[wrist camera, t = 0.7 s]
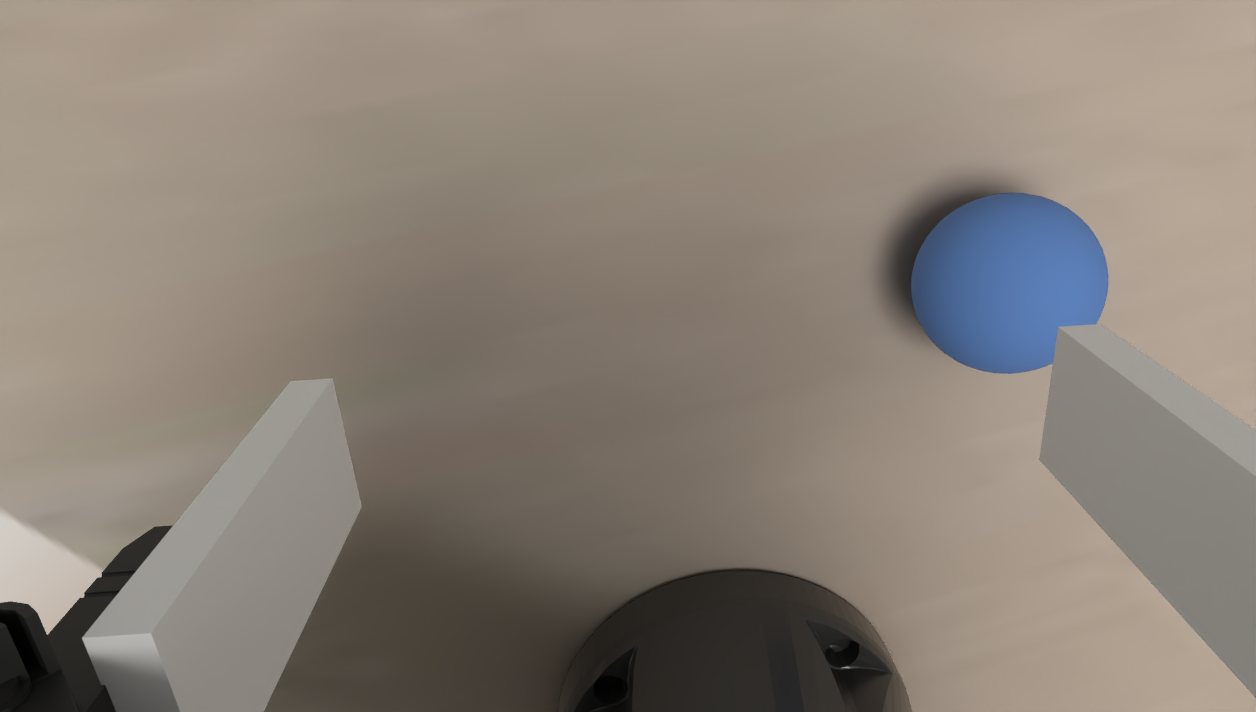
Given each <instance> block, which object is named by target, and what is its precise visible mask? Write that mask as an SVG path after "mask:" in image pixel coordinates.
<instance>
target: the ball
mask: <svg viewBox="0 0 1256 712" xmlns="http://www.w3.org/2000/svg"><path fill="white" fill-rule="evenodd" d="M1107 291H1108V269H1107V263H1106V259H1105V256H1104V253H1103V250H1102V247H1101V245H1100V243H1099V241H1098V239H1097V238H1096V236H1095V235H1094V233H1093V232H1092V230H1091V229H1090V228H1089V226H1088V225H1087V224H1086V223H1085V222H1084V221H1083V220H1082V219H1081V218H1080V217H1078V216H1077V215H1076V214H1075V213H1073V212H1072V211H1071V210H1069V209H1068V208H1066V207H1064V206H1062V205H1061V204H1059V203H1057V202H1054V201H1052V200H1050V199H1047V198H1044V197H1041V196H1036V195H1030V194H1025V193H1004V194H994V195H990V196H985V197H982V198H979V199H976V200H974V201H971V202H969V203H967V204H965V205H963V206H961V207H959V208H957V209H956V210H954V211H953V212H951V213H950V214H948V215H947V216H946V217H945V218H944V219H942V220H941V221H940V222H939V223H938V224H937V225H936V226H935V227H934V228H933V230H932V231H931V232H930V234H929V235H928V236H927V238H926V239H925V241H924V242H923V244H922V246H921V248H920V250H919V252H918V255H917V257H916V260H915V263H914V267H913V272H912V278H911V292H912V301H913V306H914V310H915V313H916V315H917V318H918V320H919V322H920V324H921V326H922V328H923V329H924V331H925V333H926V334H927V336H928V337H929V338H930V339H931V340H932V342H933V343H934V344H935V345H936V346H937V347H938V348H939V349H940V350H942V351H943V352H944V353H945V354H947V355H948V356H950V357H951V358H953V359H954V360H956V361H958V362H960V363H962V364H964V365H966V366H969V367H971V368H975V369H978V370H981V371H986V372H992V373H1008V374H1011V373H1021V372H1027V371H1031V370H1036V369H1039V368H1042V367H1045V366H1047V365H1050V364H1052V363H1053V360H1054V353H1055V346H1056V339H1057V332H1058V327H1064V326H1078V325H1092V324H1096V323H1097V321H1098V319H1099V318H1100V316H1101V313H1102V310H1103V308H1104V305H1105V301H1106V296H1107Z"/></svg>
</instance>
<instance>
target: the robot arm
mask: <svg viewBox="0 0 1256 712" xmlns="http://www.w3.org/2000/svg"><path fill="white" fill-rule="evenodd" d="M1039 460H1040V461H1041V462H1042V463H1043V464H1044V465H1045V467H1046V468H1047V469H1048V470H1049V471H1050V472H1051V473H1052V474H1053V475H1054V476H1055V478H1056V479H1057V480H1058V481H1059V482H1060V483H1061V484H1062V485H1063V486H1064V487H1065V489H1066V490H1067V491H1068V492H1069V493H1070V494H1071V495H1072V496H1073V497H1074V498H1075V500H1076V501H1077V502H1078V503H1079V504H1080V505H1081V506H1082V507H1083V508H1084V509H1085V511H1086V512H1087V513H1088V514H1089V515H1090V516H1091V517H1092V518H1093V519H1094V520H1095V522H1096V523H1097V524H1098V525H1099V526H1100V527H1101V528H1102V529H1103V530H1104V531H1105V533H1106V534H1107V535H1108V536H1109V537H1110V538H1111V539H1112V540H1113V541H1114V542H1115V544H1116V545H1117V546H1118V547H1119V548H1120V549H1121V550H1122V551H1123V552H1124V553H1125V555H1126V556H1127V557H1128V558H1129V559H1130V560H1131V561H1132V562H1133V563H1134V564H1135V566H1136V567H1137V568H1138V569H1139V570H1140V571H1141V572H1142V573H1143V574H1144V575H1145V577H1146V578H1147V579H1148V580H1149V581H1150V582H1151V583H1152V584H1153V585H1154V586H1155V588H1156V589H1157V590H1158V591H1159V592H1160V593H1161V594H1162V595H1163V596H1164V597H1165V599H1166V600H1167V601H1168V602H1169V603H1170V604H1171V605H1172V606H1173V607H1174V608H1175V610H1176V611H1177V612H1178V613H1179V614H1180V615H1181V616H1182V617H1183V618H1184V619H1185V621H1186V622H1187V623H1188V624H1189V625H1190V626H1191V627H1192V628H1193V629H1194V630H1195V632H1196V633H1197V634H1198V635H1199V636H1200V637H1201V638H1202V639H1203V640H1204V641H1205V643H1206V644H1207V645H1208V646H1209V647H1210V648H1211V649H1212V650H1213V651H1214V652H1215V654H1216V655H1217V656H1218V657H1219V658H1220V659H1221V660H1222V661H1223V662H1224V663H1225V665H1226V666H1227V667H1228V668H1229V669H1230V670H1231V671H1232V672H1233V673H1234V674H1235V675H1236V677H1237V678H1238V679H1239V680H1240V681H1241V682H1242V683H1243V684H1244V685H1245V686H1246V688H1247V689H1248V690H1249V691H1250V692H1251V693H1252V694H1253V695H1254V696H1255V697H1256V430H1255V429H1254V428H1252V427H1251V426H1250V425H1248V424H1247V423H1245V422H1244V421H1242V420H1241V419H1239V418H1238V417H1236V416H1235V415H1233V414H1232V413H1231V412H1229V411H1228V410H1226V409H1225V408H1223V407H1222V406H1220V405H1219V404H1217V403H1216V402H1214V401H1213V400H1212V399H1210V398H1209V397H1207V396H1206V395H1204V394H1203V393H1201V392H1200V391H1198V390H1197V389H1195V388H1194V387H1193V386H1191V385H1190V384H1188V383H1187V382H1185V381H1184V380H1182V379H1181V378H1179V377H1178V376H1176V375H1175V374H1174V373H1172V372H1171V371H1169V370H1168V369H1166V368H1165V367H1163V366H1162V365H1160V364H1159V363H1157V362H1156V361H1155V360H1153V359H1152V358H1150V357H1149V356H1147V355H1146V354H1144V353H1143V352H1141V351H1140V350H1138V349H1137V348H1136V347H1134V346H1133V345H1131V344H1130V343H1128V342H1127V341H1125V340H1124V339H1122V338H1121V337H1119V336H1118V335H1117V334H1115V333H1114V332H1112V331H1111V330H1109V329H1108V328H1106V327H1105V326H1103V325H1102V324H1092V325H1078V326H1064V327H1058V332H1057V339H1056V346H1055V353H1054V360H1053V367H1052V374H1051V381H1050V388H1049V395H1048V402H1047V409H1046V416H1045V423H1044V430H1043V437H1042V444H1041V451H1040V458H1039ZM361 508H362V505H361V500H360V496H359V492H358V487H357V483H356V479H355V474H354V470H353V465H352V461H351V457H350V452H349V448H348V444H347V439H346V435H345V430H344V426H343V422H342V417H341V413H340V409H339V404H338V400H337V395H336V391H335V387H334V382H333V378H329V379H315V380H300V381H290V383H289V384H288V385H287V386H286V387H285V389H284V390H283V391H282V392H281V394H280V395H279V396H278V397H277V399H276V400H275V401H274V402H273V403H272V405H271V406H270V407H269V408H268V410H267V411H266V412H265V413H264V415H263V416H262V417H261V418H260V419H259V421H258V422H257V423H256V424H255V426H254V427H253V428H252V429H251V431H250V432H249V433H248V434H247V435H246V437H245V438H244V439H243V440H242V442H241V443H240V444H239V445H238V446H237V448H236V449H235V450H234V451H233V453H232V454H231V455H230V456H229V458H228V459H227V460H226V461H225V462H224V464H223V465H222V466H221V467H220V469H219V470H218V471H217V472H216V474H215V475H214V476H213V477H212V478H211V480H210V481H209V482H208V483H207V485H206V486H205V487H204V488H203V490H202V491H201V492H200V493H199V494H198V496H197V497H196V498H195V499H194V501H193V502H192V503H191V504H190V506H189V507H188V508H187V509H186V510H185V512H184V513H183V514H182V515H181V517H180V518H179V519H178V520H177V522H176V523H175V524H174V525H173V526H160V527H154V528H152V529H151V530H149V531H148V532H146V533H145V534H144V535H142V536H141V537H139V538H138V539H136V540H135V541H133V542H132V543H130V544H129V545H128V546H126V547H125V548H123V549H122V550H121V551H120V552H119V554H118V555H117V556H116V557H115V558H114V559H113V561H112V562H111V563H110V564H109V565H108V566H107V567H106V569H105V570H104V571H103V572H102V577H101V578H97V579H96V580H95V581H94V582H93V584H92V585H91V586H90V587H89V588H88V589H87V590H86V592H85V593H84V594H85V596H84V598H79V600H78V601H77V602H76V603H75V604H74V605H73V607H72V608H71V609H70V610H69V611H68V612H67V613H66V615H65V616H64V617H63V618H62V619H61V621H59V623H58V624H57V625H56V626H55V627H54V628H53V630H52V631H51V632H50V633H49V634H48V635H47V634H46V632H45V630H44V627H43V625H42V623H41V620H40V618H39V616H38V614H37V612H36V611H35V610H34V609H33V608H31V606H30V605H29V604H23V603H17V602H4V603H0V712H264V710H265V708H266V706H267V704H268V702H269V700H270V698H271V696H272V693H273V691H274V689H275V687H276V685H277V683H278V681H279V679H280V677H281V675H282V673H283V670H284V668H285V666H286V664H287V662H288V660H289V658H290V656H291V654H292V652H293V650H294V647H295V645H296V643H297V641H298V639H299V637H300V635H301V633H302V631H303V629H304V627H305V625H306V622H307V620H308V618H309V616H310V614H311V612H312V610H313V608H314V606H315V604H316V602H317V599H318V597H319V595H320V593H321V591H322V589H323V587H324V585H325V583H326V581H327V579H328V576H329V574H330V572H331V570H332V568H333V566H334V564H335V562H336V560H337V558H338V556H339V553H340V551H341V549H342V547H343V545H344V543H345V541H346V539H347V537H348V535H349V533H350V531H351V528H352V526H353V524H354V522H355V520H356V518H357V516H358V514H359V512H360V510H361ZM558 712H912V710H911V705H910V702H909V698H908V695H907V691H906V688H905V686H904V683H903V681H902V678H901V676H900V674H899V672H898V670H897V668H896V666H895V664H894V662H893V660H892V658H891V656H890V654H889V652H888V650H887V649H886V647H885V645H884V643H883V641H882V639H881V638H880V636H879V635H878V633H877V632H876V630H875V629H874V628H873V626H872V625H871V624H870V623H869V622H868V621H867V620H866V619H865V617H864V616H863V615H862V614H860V613H859V612H858V611H857V610H856V609H855V608H854V607H852V606H851V605H850V604H848V603H847V602H846V601H844V600H843V599H841V598H840V597H838V596H837V595H835V594H833V593H831V592H829V591H827V590H826V589H824V588H821V587H819V586H817V585H815V584H812V583H809V582H806V581H804V580H801V579H797V578H793V577H790V576H785V575H780V574H775V573H768V572H757V571H727V572H717V573H709V574H704V575H698V576H694V577H690V578H686V579H682V580H679V581H676V582H673V583H670V584H667V585H665V586H662V587H660V588H657V589H655V590H653V591H651V592H649V593H647V594H645V595H643V596H641V597H639V598H637V599H636V600H634V601H632V602H631V603H629V604H628V605H626V606H625V607H623V608H622V609H620V610H619V611H618V612H616V613H615V614H614V615H612V616H611V617H610V618H609V619H608V620H607V621H605V622H604V623H603V624H602V625H601V626H600V627H599V628H598V629H597V630H596V631H595V632H594V633H593V634H592V636H591V637H590V638H589V639H588V640H587V642H586V643H585V644H584V646H583V647H582V648H581V650H580V651H579V653H578V654H577V656H576V658H575V659H574V661H573V663H572V665H571V667H570V669H569V671H568V673H567V676H566V679H565V681H564V684H563V688H562V691H561V696H560V701H559V709H558Z"/></svg>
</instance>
